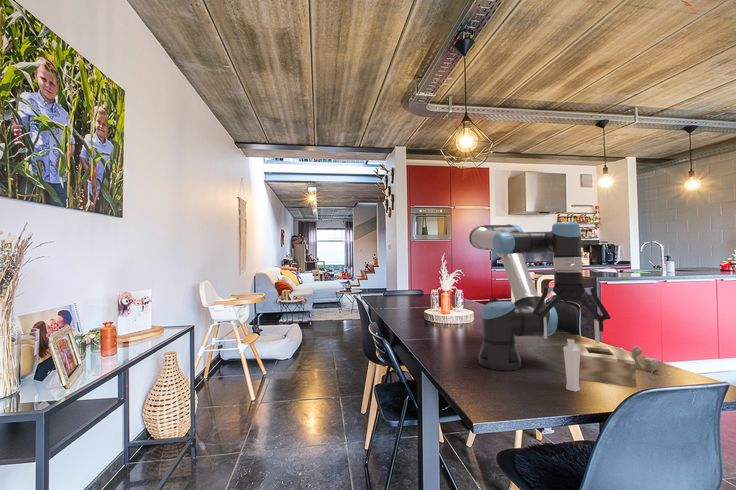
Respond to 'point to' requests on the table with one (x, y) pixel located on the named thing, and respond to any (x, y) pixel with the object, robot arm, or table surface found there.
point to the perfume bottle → (572, 365)
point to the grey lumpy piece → (651, 362)
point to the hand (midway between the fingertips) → (570, 340)
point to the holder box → (606, 365)
